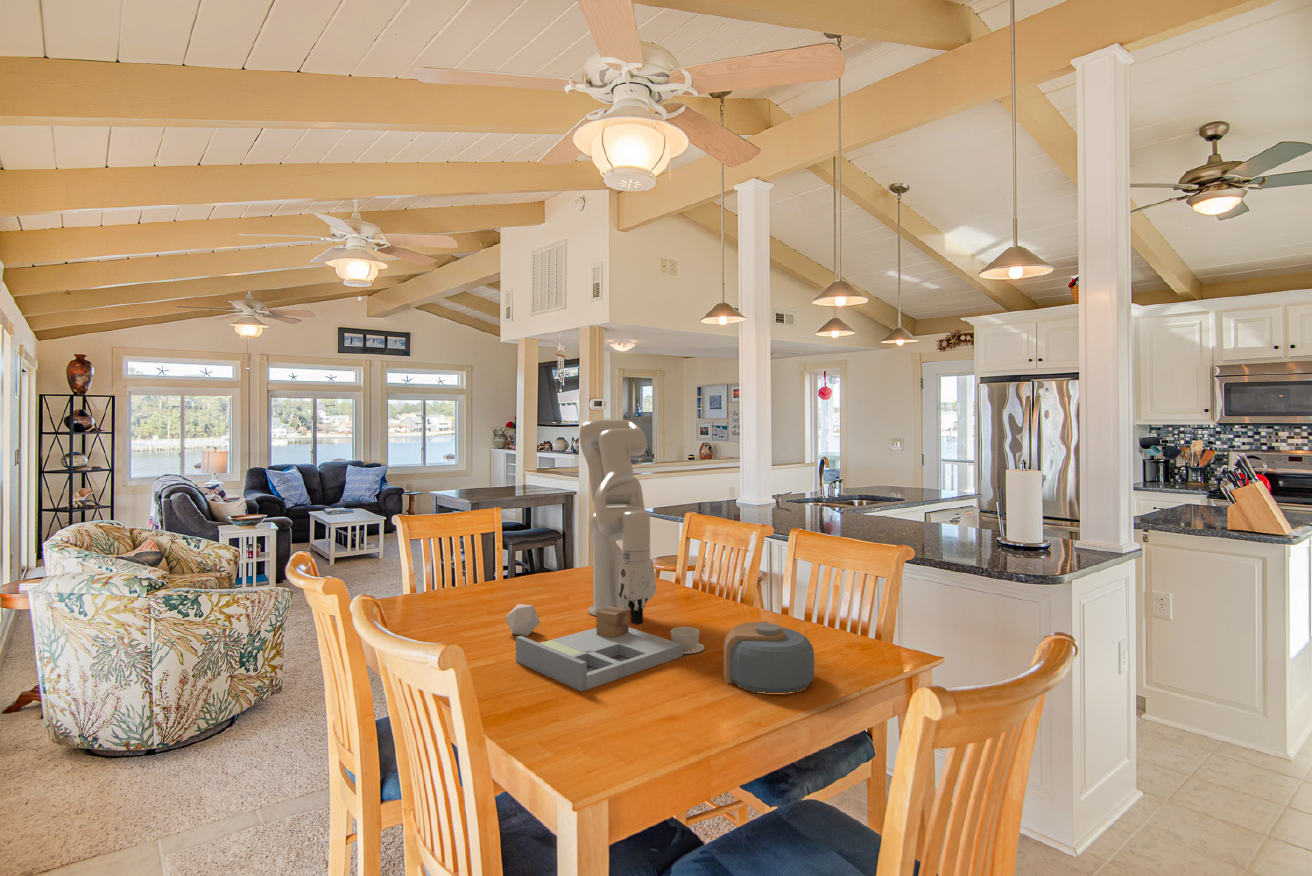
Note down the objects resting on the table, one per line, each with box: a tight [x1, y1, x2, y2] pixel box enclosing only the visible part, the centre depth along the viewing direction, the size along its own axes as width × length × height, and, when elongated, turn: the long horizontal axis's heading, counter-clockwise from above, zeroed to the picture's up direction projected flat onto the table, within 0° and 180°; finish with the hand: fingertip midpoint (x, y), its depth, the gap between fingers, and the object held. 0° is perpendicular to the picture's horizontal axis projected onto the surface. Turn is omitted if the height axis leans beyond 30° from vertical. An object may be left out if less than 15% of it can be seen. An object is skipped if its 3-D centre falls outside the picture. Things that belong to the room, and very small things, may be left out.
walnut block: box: [595, 606, 629, 638], centre depth 174 cm, size 6×6×6 cm
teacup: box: [670, 626, 705, 655], centre depth 171 cm, size 10×10×5 cm
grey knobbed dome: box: [723, 620, 815, 693], centre depth 150 cm, size 19×20×12 cm
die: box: [505, 603, 541, 637], centre depth 184 cm, size 8×9×10 cm
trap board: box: [515, 626, 683, 692], centre depth 163 cm, size 32×26×6 cm
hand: (636, 623), depth 180 cm, fingers closed
